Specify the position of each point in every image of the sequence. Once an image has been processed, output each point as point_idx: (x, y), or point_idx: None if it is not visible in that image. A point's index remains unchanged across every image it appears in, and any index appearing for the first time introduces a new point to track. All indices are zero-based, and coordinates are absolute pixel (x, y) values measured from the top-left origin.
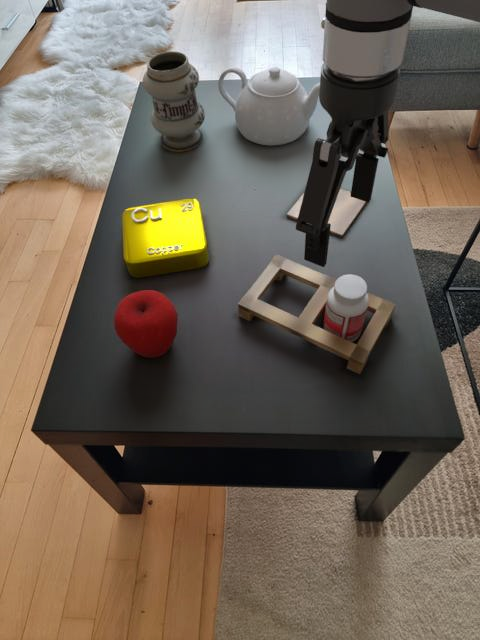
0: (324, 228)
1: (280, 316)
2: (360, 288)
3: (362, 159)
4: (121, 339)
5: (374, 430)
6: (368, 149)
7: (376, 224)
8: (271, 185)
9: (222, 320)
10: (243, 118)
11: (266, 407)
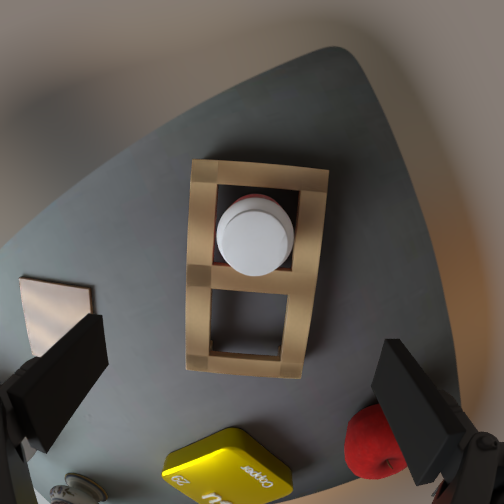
0: (490, 438)
1: (299, 319)
2: (252, 224)
3: (41, 433)
4: None
5: (389, 131)
6: (16, 456)
7: (48, 249)
8: None
9: (312, 376)
10: (28, 455)
11: (411, 268)
